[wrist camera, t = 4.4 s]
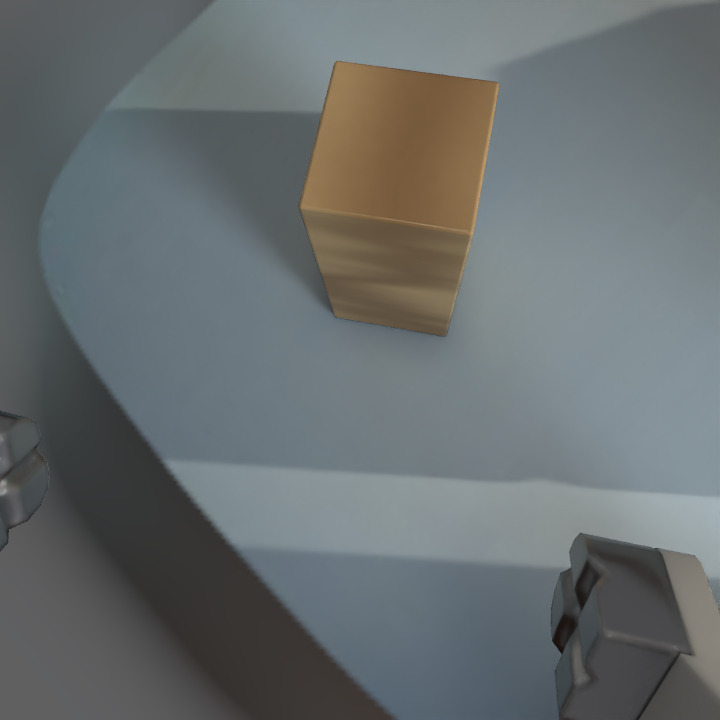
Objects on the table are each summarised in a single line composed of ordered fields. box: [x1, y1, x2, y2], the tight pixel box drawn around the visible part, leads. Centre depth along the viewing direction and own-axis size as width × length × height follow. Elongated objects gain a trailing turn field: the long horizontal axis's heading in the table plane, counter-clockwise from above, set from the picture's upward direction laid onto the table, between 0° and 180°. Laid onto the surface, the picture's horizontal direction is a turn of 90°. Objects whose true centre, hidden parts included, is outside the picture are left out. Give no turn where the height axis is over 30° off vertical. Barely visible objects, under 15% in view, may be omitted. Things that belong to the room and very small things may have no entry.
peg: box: [299, 61, 499, 336], centre depth 18 cm, size 4×4×8 cm
